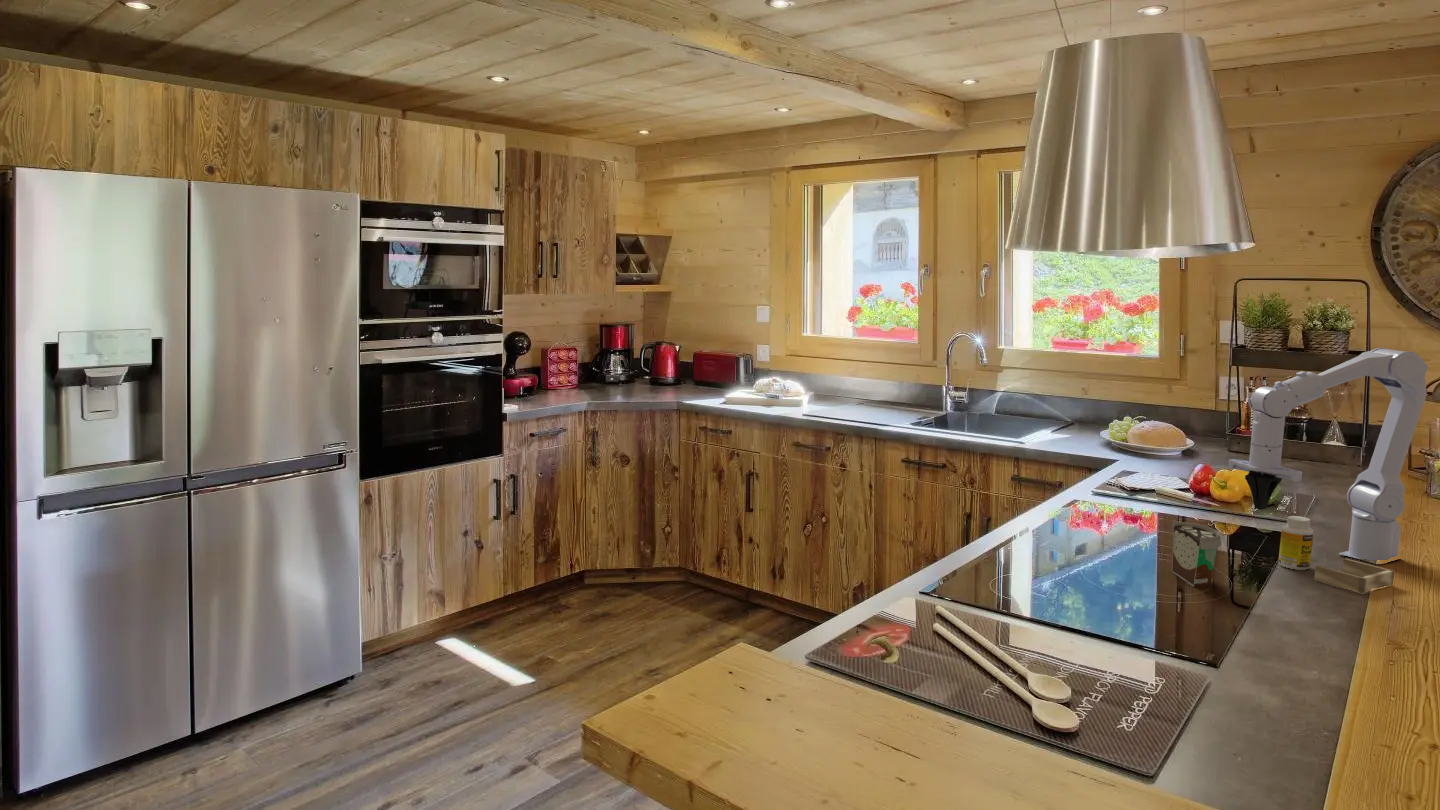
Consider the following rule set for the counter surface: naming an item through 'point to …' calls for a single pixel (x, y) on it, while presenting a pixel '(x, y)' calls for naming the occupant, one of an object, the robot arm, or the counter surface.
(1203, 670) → the counter surface
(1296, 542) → the supplement bottle
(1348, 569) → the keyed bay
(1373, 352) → the robot arm
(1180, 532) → the food container
